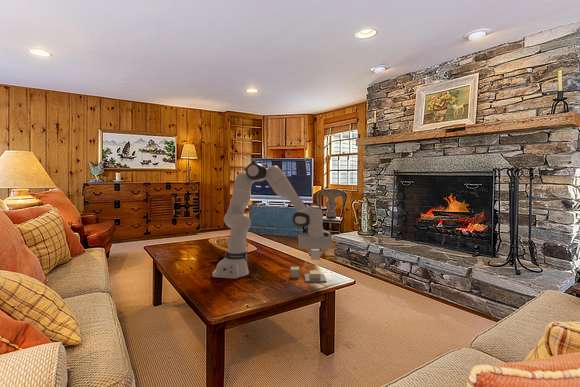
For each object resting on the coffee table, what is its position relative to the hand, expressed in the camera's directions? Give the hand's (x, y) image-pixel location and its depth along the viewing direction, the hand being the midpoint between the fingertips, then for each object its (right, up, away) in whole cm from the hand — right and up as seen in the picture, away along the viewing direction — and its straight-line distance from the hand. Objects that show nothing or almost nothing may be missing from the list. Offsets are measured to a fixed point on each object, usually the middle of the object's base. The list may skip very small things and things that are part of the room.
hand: (315, 255), depth 184 cm
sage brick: (-12, -14, +6) cm, 19 cm away
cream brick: (0, -2, 0) cm, 2 cm away
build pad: (0, -14, +1) cm, 14 cm away
